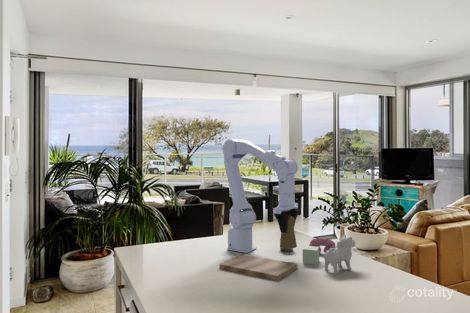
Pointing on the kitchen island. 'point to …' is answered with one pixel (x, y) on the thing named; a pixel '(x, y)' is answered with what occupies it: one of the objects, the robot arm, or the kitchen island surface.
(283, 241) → the olive peg
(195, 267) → the kitchen island surface
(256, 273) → the walnut board
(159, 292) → the kitchen island surface
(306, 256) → the sage block
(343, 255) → the dog figurine
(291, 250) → the grey domed cylinder
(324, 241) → the pink toy figurine
